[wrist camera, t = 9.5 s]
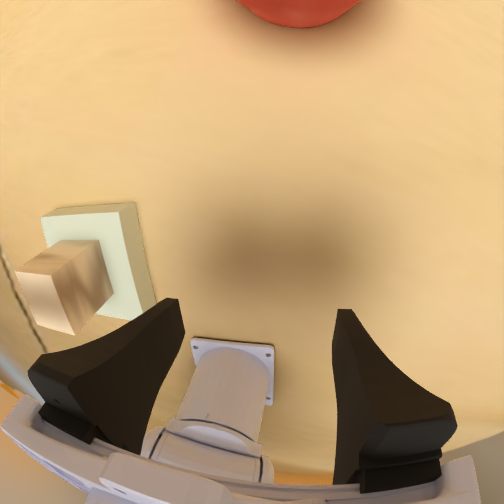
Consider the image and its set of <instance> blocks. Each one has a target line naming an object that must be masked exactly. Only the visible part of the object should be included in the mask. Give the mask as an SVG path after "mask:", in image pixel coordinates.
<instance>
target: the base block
mask: <svg viewBox="0 0 504 504" xmlns="http://www.w3.org/2000/svg"><path fill="white" fill-rule="evenodd" d="M40 219H41V223H42V227H43V231H44V235H45V239H46V242H47V246H48V248H49V247H51V246H52V245H54V244H55V243H57V242H58V241H60V240H99V242H100V246H101V250H102V254H103V258H104V261H105V265H106V268H107V272H108V275H109V279H110V282H111V285H112V288H113V292H114V294H113V295H112V296H111V297H110V298H109V299H108V300H107V301H106V302H105V303H104V305H103V306H102V307H101V308H100V309H99V310H98V311H97V312H96V313H95V314H99V315H104V316H110V317H115V318H121V319H126V320H133V319H135V318H136V317H138V316H139V315H141V314H142V313H144V312H145V311H147V310H148V309H150V308H151V307H153V306H154V305H156V304H157V303H156V299H155V295H154V291H153V287H152V283H151V279H150V274H149V270H148V266H147V261H146V256H145V252H144V247H143V242H142V236H141V231H140V226H139V220H138V214H137V208H136V202H133V203H118V204H104V205H92V206H80V207H70V208H60V209H55V210H53V211H51V212H49V213H47V214H46V215H44V216H42V217H40Z"/></svg>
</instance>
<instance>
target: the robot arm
mask: <svg viewBox="0 0 504 504" xmlns="http://www.w3.org/2000/svg"><path fill="white" fill-rule="evenodd" d="M184 335H185V329H184V325H183V320H182V315H181V311H180V306H179V301H178V299H172V298H166V299H164V300H162V301H160V302H159V303H157V304H156V305H154V306H153V307H151V308H150V309H148V310H147V311H145V312H144V313H142V314H141V315H139V316H138V317H136V318H135V319H133V320H132V321H130V322H128V323H127V324H125V325H123V326H122V327H120V328H119V329H117V330H115V331H113V332H111V333H109V334H107V335H105V336H103V337H101V338H99V339H96V340H94V341H91V342H89V343H86V344H84V345H81V346H78V347H75V348H71V349H67V350H64V351H59V352H54V353H49V354H42V355H41V356H40V357H39V358H38V359H37V361H36V362H35V363H34V364H33V365H32V366H31V368H30V369H29V370H28V377H29V379H30V381H31V382H32V384H33V386H34V387H35V388H36V390H37V391H38V393H39V394H40V395H41V397H42V398H43V399H44V401H45V403H44V405H43V406H42V405H41V404H40V403H39V402H37V401H36V400H34V399H32V398H31V397H29V396H28V395H26V394H24V395H23V396H22V397H21V399H20V400H19V401H18V403H17V404H16V405H15V406H14V408H13V409H12V411H11V412H10V413H9V415H8V416H7V417H6V419H5V420H4V421H3V423H2V424H1V426H0V427H1V429H2V430H3V431H4V432H5V433H6V434H7V435H8V436H9V437H10V438H11V439H12V440H13V441H14V442H15V443H16V444H17V445H18V446H20V447H21V448H22V449H23V450H24V451H25V452H26V453H27V454H28V455H30V456H31V457H32V458H34V459H35V460H36V461H38V462H39V463H41V464H42V465H43V466H45V467H46V468H48V469H49V470H50V471H52V472H53V473H55V474H56V475H58V476H59V477H61V478H62V479H64V480H66V481H67V482H69V483H70V484H72V485H74V486H75V487H77V488H79V489H80V490H82V491H84V492H86V493H87V494H89V495H88V497H87V499H86V501H85V504H481V499H480V493H479V487H478V482H477V477H476V472H475V468H474V463H473V459H472V456H471V455H469V456H465V457H462V458H458V459H455V460H451V461H448V462H446V463H444V464H442V465H440V461H439V458H441V457H442V451H441V447H442V446H443V445H444V444H445V443H446V442H447V441H448V440H449V439H450V438H451V437H452V435H453V434H454V433H455V431H456V429H457V422H456V419H455V415H454V412H453V409H452V407H451V405H450V403H448V402H447V401H445V400H443V399H441V398H439V397H437V396H435V395H434V394H432V393H430V392H429V391H427V390H426V389H424V388H423V387H421V386H420V385H418V384H417V383H416V382H414V381H413V380H412V379H410V378H409V377H408V376H407V375H405V374H404V373H403V372H402V371H401V370H400V369H399V368H397V367H396V366H395V365H394V364H393V363H392V362H391V361H390V360H389V359H388V358H387V356H386V355H385V354H384V353H383V352H382V351H381V349H380V348H379V347H378V346H377V345H376V343H375V342H374V341H373V339H372V338H371V337H370V335H369V334H368V333H367V331H366V330H365V328H364V327H363V325H362V324H361V322H360V321H359V319H358V318H357V316H356V315H355V313H354V312H353V310H352V309H338V311H337V318H336V324H335V330H334V335H333V341H332V366H333V374H334V382H335V391H336V399H337V443H336V457H335V468H334V477H333V485H288V484H273V482H274V468H273V465H272V464H271V462H270V460H269V458H268V457H266V456H262V455H261V451H262V444H259V443H258V439H259V433H260V428H261V422H262V417H263V411H264V406H265V405H266V406H270V405H272V404H273V390H274V347H273V346H271V345H262V344H250V343H239V342H228V341H219V340H210V339H202V338H192V339H191V341H190V345H191V349H192V353H193V357H194V362H195V366H196V369H195V372H194V374H193V376H192V379H191V381H190V384H189V386H188V388H187V391H186V393H185V395H184V398H183V400H182V403H181V405H180V407H179V410H178V412H177V414H176V417H175V419H173V418H170V420H169V423H168V425H167V427H166V428H165V427H163V426H156V427H155V428H153V429H150V430H149V431H148V432H147V433H146V435H145V432H146V428H147V424H148V421H149V418H150V415H151V411H152V408H153V405H154V403H155V400H156V397H157V394H158V392H159V389H160V387H161V385H162V383H163V381H164V379H165V377H166V375H167V373H168V371H169V369H170V368H171V366H172V364H173V362H174V360H175V358H176V356H177V354H178V352H179V350H180V347H181V344H182V341H183V338H184ZM196 346H197V347H196ZM267 353H269V354H267Z"/></svg>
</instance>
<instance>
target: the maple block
mask: <svg viewBox="0 0 504 504" xmlns="http://www.w3.org/2000/svg"><path fill="white" fill-rule="evenodd" d="M15 273H16V276H17V279H18V281H19V284H20V286H21V289H22V291H23V294H24V296H25V299H26V301H27V303H28V305H29V308H30V310H31V312H32V314H33V317H34V319H35V321H36V323H37V325H40V326H43V327H47V328H50V329H53V330H57V331H60V332H64V333H68V334H71V335H76V334H77V333H78V332H79V331H80V330H81V329H82V328H83V326H84V325H85V324H86V323H87V322H88V321H89V320H90V319H91V318H92V316H93V315H94V314H95V313H96V312H97V311H98V310H99V309H100V308H101V307H102V306H103V305H104V303H105V302H106V301H107V300H108V299H109V298H110V297H111V296H112V295H113V294H114V292H113V288H112V285H111V282H110V279H109V275H108V272H107V268H106V265H105V261H104V258H103V254H102V250H101V246H100V242H99V240H60V241H58V242H57V243H55V244H54V245H52V246H51V247H49V248H48V249H46V250H45V251H43V252H42V253H40V254H39V255H37V256H36V257H34V258H33V259H31V260H30V261H28V262H27V263H26V264H24V265H23V266H21V267H20V268H19V269H17V270H16V271H15Z"/></svg>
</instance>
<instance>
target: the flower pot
mask: <svg viewBox="0 0 504 504" xmlns="http://www.w3.org/2000/svg"><path fill="white" fill-rule="evenodd" d="M236 1H238V2H239V3H240V4H242V5H243V6H245V7H246V8H248V9H249V10H250V11H252V12H253V13H254V14H256V15H257V16H259V17H260V18H262V19H264V20H266V21H269V22H271V23H274V24H277V25H281V26H286V27H296V28H304V27H314V26H319V25H323V24H326V23H328V22H331V21H333V20H335V19H336V18H338V17H339V16H341V15H342V14H343V13H345V12H346V11H348V10H349V9H350V8H352V7H353V6H355V5H356V4H358V3H359V2H360V1H362V0H236Z"/></svg>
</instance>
